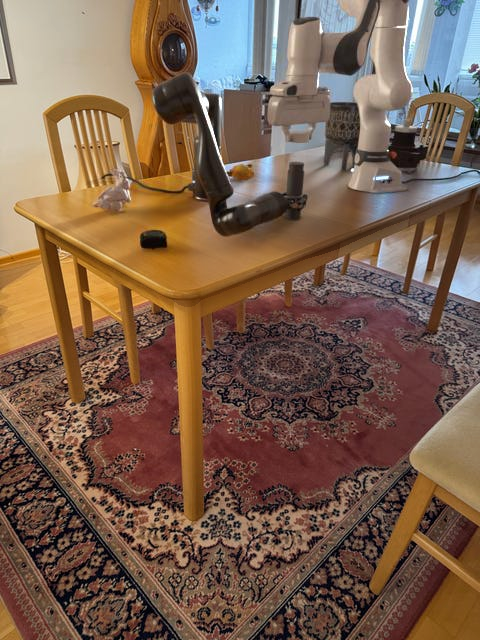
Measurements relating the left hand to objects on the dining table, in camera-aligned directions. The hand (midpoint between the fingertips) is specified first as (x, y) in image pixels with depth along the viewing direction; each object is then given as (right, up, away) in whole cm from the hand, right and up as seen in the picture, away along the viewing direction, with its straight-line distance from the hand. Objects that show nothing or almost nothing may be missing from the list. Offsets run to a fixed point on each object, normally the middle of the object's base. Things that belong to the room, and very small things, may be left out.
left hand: (298, 195), depth 142 cm
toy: (-17, +19, +45) cm, 52 cm away
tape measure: (-40, -20, -24) cm, 51 cm away
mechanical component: (+57, +31, +69) cm, 95 cm away
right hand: (-1, +13, -10) cm, 17 cm away
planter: (+29, +32, +69) cm, 82 cm away
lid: (-1, +15, -11) cm, 19 cm away
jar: (-2, -6, +1) cm, 7 cm away
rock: (+38, +52, +104) cm, 122 cm away
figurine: (-58, -4, +4) cm, 59 cm away
